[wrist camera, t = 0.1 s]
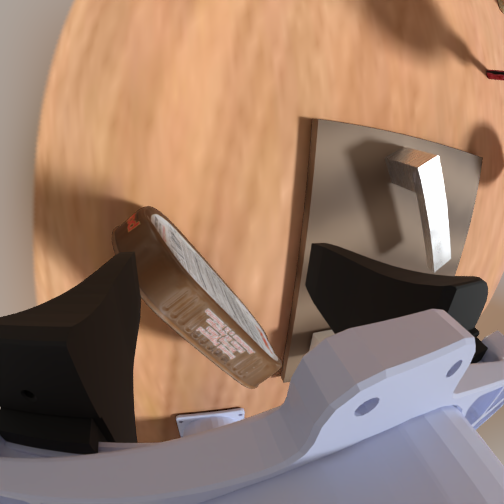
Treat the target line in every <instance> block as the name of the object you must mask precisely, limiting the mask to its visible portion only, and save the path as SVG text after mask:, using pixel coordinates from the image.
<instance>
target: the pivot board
mask: <svg viewBox="0 0 504 504" xmlns="http://www.w3.org/2000/svg"><path fill="white" fill-rule="evenodd" d="M403 147H407V148H411V149H415V150H419V151H423V152H427V153H431V154H435V155H438V156H439V160H440V165H441V171H442V177H443V183H444V189H445V196H446V204H447V212H448V222H449V233H450V248H451V259H450V260H449V261H448V262H446V263H445V264H444V265H443V266H442V267H441V268H439V269H438V270H437V271H436V272H433V271H432V270H430V269H429V268H427V259H426V251H425V243H424V236H423V229H422V223H421V217H420V211H419V206H418V200H417V195H416V193H415V192H412V191H410V190H407V189H405V188H403V187H400V186H398V185H395V184H393V183H391V179H390V175H389V172H388V168H387V165H386V161H385V157H387V156H388V155H390V154H392V153H394V152H396V151H397V150H399V149H401V148H403ZM482 159H483V158H482V157H479V156H476V155H473V154H470V153H467V152H464V151H461V150H458V149H455V148H451V147H448V146H445V145H441V144H438V143H434V142H430V141H427V140H423V139H419V138H415V137H411V136H407V135H403V134H398V133H394V132H389V131H385V130H380V129H375V128H370V127H365V126H359V125H353V124H347V123H341V122H335V121H328V120H320V119H312V129H311V142H310V154H309V165H308V176H307V187H306V197H305V206H304V215H303V224H302V233H301V242H300V250H299V258H298V266H297V273H296V281H295V288H294V295H293V302H292V309H291V316H290V322H289V329H288V335H287V341H286V348H285V354H284V360H283V366H282V371H281V378H282V380H283V383H285V382H290V381H291V377H292V376H293V374H294V372H295V370H296V369H297V367H298V365H299V363H300V361H301V360H302V358H303V356H304V355H305V354H306V353H308V352H309V349H310V345H311V341H312V336H313V333H316V332H321V331H326V330H332V329H331V328H330V326H329V325H328V323H327V322H326V321H325V319H324V318H323V316H322V315H321V313H320V312H319V310H318V309H317V308H316V306H315V305H314V303H313V301H312V299H311V297H310V295H309V293H308V291H307V289H306V286H305V282H306V276H307V270H308V264H309V257H310V251H311V244H312V243H328V244H332V245H336V246H339V247H342V248H344V249H347V250H350V251H353V252H355V253H358V254H360V255H363V256H366V257H368V258H371V259H374V260H377V261H380V262H383V263H386V264H389V265H392V266H396V267H400V268H403V269H407V270H412V271H417V272H422V273H428V274H435V275H445V276H455V273H456V270H457V267H458V264H459V261H460V258H461V254H462V251H463V248H464V244H465V241H466V237H467V233H468V230H469V226H470V222H471V218H472V213H473V209H474V204H475V200H476V195H477V190H478V184H479V179H480V172H481V166H482Z"/></svg>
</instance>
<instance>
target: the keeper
mask: <svg viewBox="0 0 504 504" xmlns="http://www.w3.org/2000/svg"><path fill="white" fill-rule="evenodd" d="M385 161H386V165H387V168H388V172H389V175H390V179H391V183H393V184H395V185H398V186H400V187H403V188H405V189H407V190H410V191H412V192H415V193H416V195H417V200H418V206H419V211H420V217H421V223H422V229H423V236H424V243H425V251H426V259H427V268H429V269H430V270H432V271H433V272H436V271H437V270H438V269H439V268H441V267H442V266H443V265H444V264H445V263H446V262H448V261H449V260H450V259H451V248H450V233H449V222H448V212H447V204H446V196H445V189H444V183H443V177H442V171H441V165H440V160H439V156H438V155H435V154H431V153H427V152H423V151H419V150H415V149H411V148H407V147H403V148H401V149H399V150H397V151H396V152H394V153H392V154H390V155H388V156H387V157H385Z"/></svg>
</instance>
